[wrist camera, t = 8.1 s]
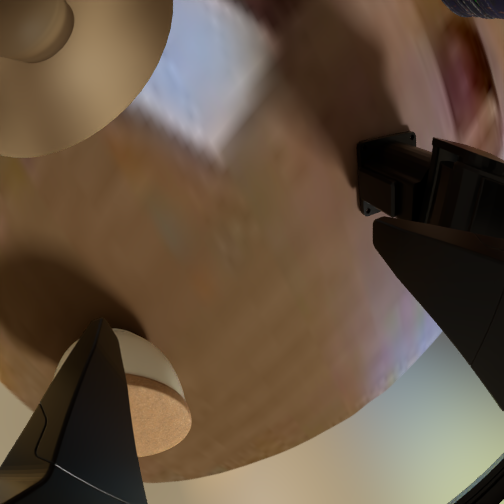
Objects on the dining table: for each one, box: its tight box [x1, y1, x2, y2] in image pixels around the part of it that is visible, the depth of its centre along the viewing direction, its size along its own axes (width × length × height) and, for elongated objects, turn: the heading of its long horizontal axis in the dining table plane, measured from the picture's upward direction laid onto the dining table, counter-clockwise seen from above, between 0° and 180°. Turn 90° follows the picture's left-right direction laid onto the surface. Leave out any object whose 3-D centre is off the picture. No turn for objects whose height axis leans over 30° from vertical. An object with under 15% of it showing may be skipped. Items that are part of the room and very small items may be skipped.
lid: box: [0, 0, 173, 158], centre depth 7 cm, size 12×12×4 cm
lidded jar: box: [53, 328, 192, 457], centre depth 20 cm, size 11×11×9 cm
